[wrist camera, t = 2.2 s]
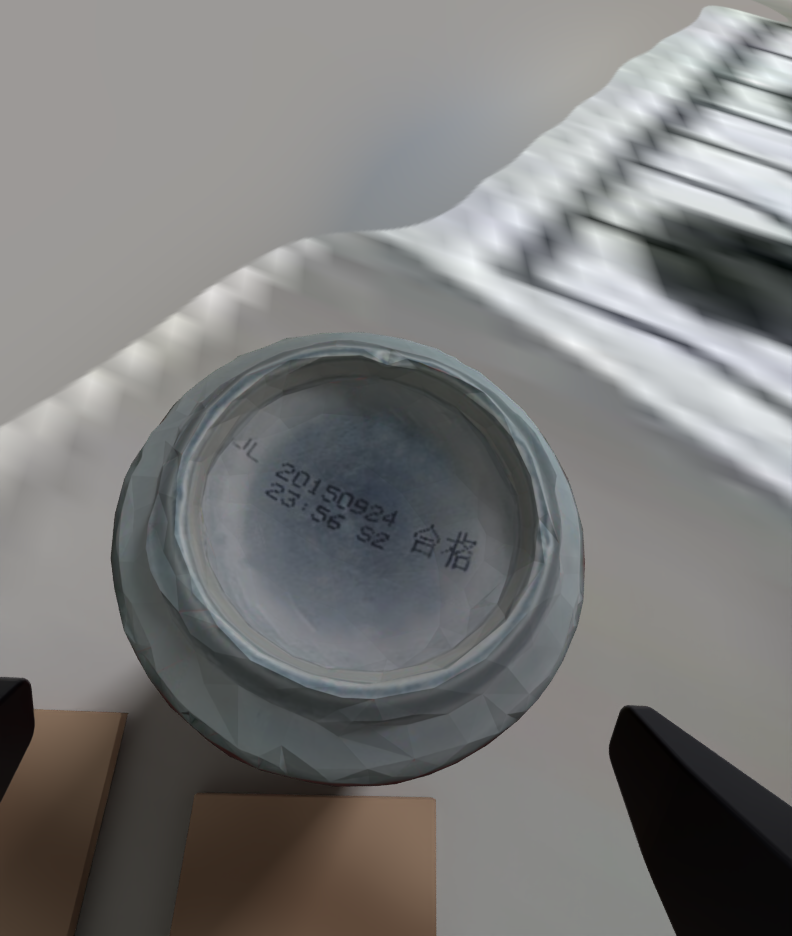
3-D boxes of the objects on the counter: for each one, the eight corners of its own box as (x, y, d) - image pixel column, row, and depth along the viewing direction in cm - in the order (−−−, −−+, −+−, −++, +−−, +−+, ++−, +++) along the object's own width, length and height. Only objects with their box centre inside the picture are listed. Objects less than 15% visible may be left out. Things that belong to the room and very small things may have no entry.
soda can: (406, 784, 16) (601, 878, 5) (187, 720, 16) (-53, 687, 5) (451, 571, 20) (626, 369, 9) (270, 517, 20) (224, 247, 9)
